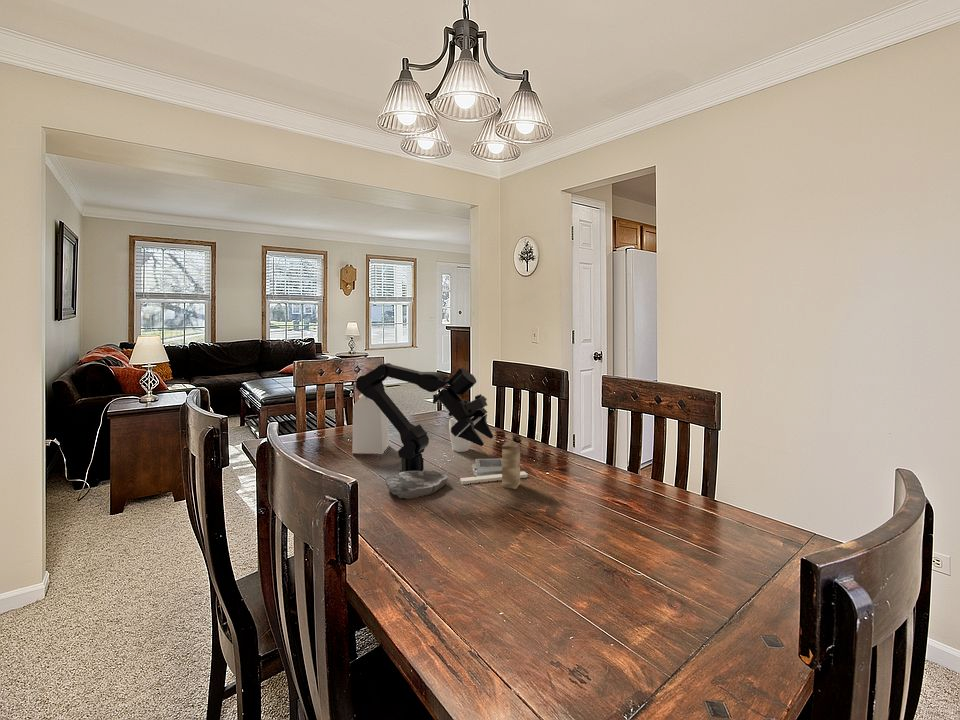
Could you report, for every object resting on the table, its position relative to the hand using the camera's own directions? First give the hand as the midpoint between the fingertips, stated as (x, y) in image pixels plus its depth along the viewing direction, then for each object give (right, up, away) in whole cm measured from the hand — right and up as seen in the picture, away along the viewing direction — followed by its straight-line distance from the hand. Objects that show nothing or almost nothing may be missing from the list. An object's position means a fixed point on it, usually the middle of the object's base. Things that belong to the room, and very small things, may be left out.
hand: (487, 441), depth 153 cm
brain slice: (-23, -14, -3) cm, 27 cm away
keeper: (+1, -12, +13) cm, 18 cm away
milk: (-45, -10, +37) cm, 59 cm away
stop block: (+7, -13, -1) cm, 15 cm away
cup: (-10, -10, +38) cm, 40 cm away
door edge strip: (+2, -13, +4) cm, 14 cm away
